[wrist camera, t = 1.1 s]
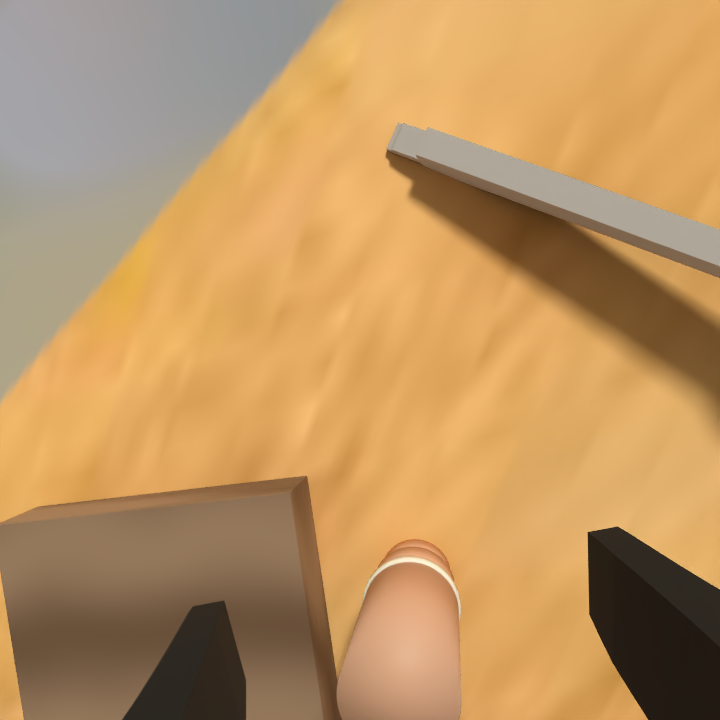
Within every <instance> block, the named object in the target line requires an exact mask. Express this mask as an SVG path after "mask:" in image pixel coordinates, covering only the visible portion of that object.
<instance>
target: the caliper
mask: <svg viewBox="0 0 720 720" xmlns="http://www.w3.org/2000/svg"><path fill="white" fill-rule="evenodd" d="M387 150H388V151H390V152H392V153H395V154H397V155H400V156H403V157H405V158H408V159H411V160H414V161H416V162H419V163H421V164H422V165H423V166H425V167H427V168H430V169H432V170H435V171H437V172H439V173H442V174H444V175H446V176H449V177H451V178H454V179H456V180H458V181H461V182H463V183H466V184H469V185H471V186H474V187H477V188H479V189H482V190H485V191H488V192H490V193H493V194H496V195H498V196H501V197H504V198H506V199H509V200H512V201H514V202H517V203H520V204H523V205H525V206H528V207H531V208H533V209H536V210H539V211H541V212H544V213H547V214H550V215H552V216H555V217H558V218H560V219H563V220H566V221H568V222H571V223H574V224H576V225H579V226H582V227H585V228H587V229H590V230H593V231H595V232H598V233H601V234H603V235H606V236H609V237H611V238H614V239H617V240H619V241H622V242H625V243H627V244H630V245H633V246H636V247H638V248H641V249H644V250H646V251H649V252H652V253H654V254H657V255H660V256H662V257H665V258H668V259H670V260H673V261H676V262H678V263H681V264H684V265H686V266H689V267H692V268H694V269H697V270H700V271H702V272H705V273H708V274H710V275H713V276H716V277H718V278H720V230H719V229H716V228H713V227H711V226H708V225H705V224H702V223H699V222H696V221H694V220H691V219H688V218H685V217H682V216H679V215H676V214H674V213H671V212H668V211H665V210H662V209H659V208H657V207H654V206H651V205H648V204H645V203H642V202H640V201H637V200H634V199H631V198H628V197H625V196H622V195H620V194H617V193H614V192H611V191H608V190H605V189H603V188H600V187H597V186H594V185H591V184H588V183H586V182H583V181H580V180H577V179H574V178H571V177H569V176H566V175H563V174H560V173H557V172H554V171H551V170H549V169H546V168H543V167H540V166H537V165H534V164H531V163H529V162H526V161H523V160H520V159H517V158H514V157H511V156H509V155H506V154H503V153H500V152H497V151H494V150H491V149H489V148H486V147H483V146H480V145H477V144H474V143H471V142H469V141H466V140H463V139H460V138H457V137H454V136H451V135H449V134H446V133H443V132H440V131H437V130H434V129H431V128H429V127H428V128H427V131H424V130H422V129H419V128H416V127H413V126H410V125H407V124H405V123H403V124H401V123H398V125H397V127H396V129H395V131H394V134H393V136H392V138H391V141H390V143H389V145H388V147H387Z"/></svg>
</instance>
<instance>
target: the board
mask: <svg viewBox="0 0 720 720" xmlns="http://www.w3.org/2000/svg"><path fill="white" fill-rule="evenodd" d="M0 572H1V578H2V584H3V590H4V597H5V603H6V609H7V616H8V622H9V628H10V634H11V641H12V647H13V653H14V659H15V666H16V672H17V678H18V684H19V691H20V697H21V703H22V710H23V716H24V720H122V719H123V717H124V716H125V715H126V713H127V712H128V710H129V709H130V707H131V706H132V704H133V703H134V701H135V700H136V698H137V697H138V695H139V693H140V692H141V690H142V689H143V687H144V685H145V684H146V682H147V681H148V679H149V678H150V676H151V674H152V673H153V671H154V670H155V668H156V666H157V665H158V663H159V661H160V660H161V658H162V656H163V655H164V653H165V651H166V650H167V648H168V646H169V645H170V643H171V641H172V640H173V638H174V636H175V634H176V633H177V631H178V629H179V627H180V626H181V624H182V622H183V620H184V619H185V617H186V615H187V613H188V612H189V611H190V609H191V608H192V607H193V606H197V605H202V604H208V603H213V602H218V601H225V605H226V609H227V612H228V616H229V620H230V623H231V627H232V631H233V634H234V638H235V642H236V645H237V649H238V652H239V656H240V660H241V663H242V667H243V671H244V674H245V678H246V720H342V718H341V715H340V712H339V709H338V704H337V695H336V694H337V684H338V683H337V677H336V670H335V663H334V656H333V649H332V643H331V636H330V629H329V622H328V615H327V609H326V602H325V595H324V588H323V582H322V575H321V568H320V561H319V554H318V548H317V541H316V534H315V527H314V520H313V514H312V507H311V500H310V493H309V486H308V480H307V476H302V477H293V478H284V479H276V480H267V481H258V482H250V483H241V484H232V485H224V486H215V487H206V488H198V489H189V490H180V491H171V492H163V493H154V494H145V495H137V496H128V497H119V498H111V499H102V500H93V501H84V502H76V503H67V504H58V505H50V506H41V507H37V508H34V509H32V510H29V511H27V512H25V513H22V514H20V515H18V516H15V517H13V518H11V519H8V520H6V521H4V522H1V523H0Z"/></svg>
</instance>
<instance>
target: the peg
mask: <svg viewBox="0 0 720 720" xmlns="http://www.w3.org/2000/svg"><path fill="white" fill-rule="evenodd" d="M460 612H461V608H460V597H459V592H458V589H457V587H456V585H455V582H454V577H453V575H452V572H451V570H450V566H449V563H448V561H447V559H446V557H445V556H444V554H443V553H442V552H441V551H440V550H439V549H438V548H437V547H436V546H434V545H433V544H431V543H429V542H426V541H423V540H416V539H415V540H406V541H403V542H401V543H398V544H397V545H395V546H394V547H393V548H392V549H391V550H390V551H389V552H388V553H387V555H386V557H385V558H384V559H383V560H382V561H381V563H380V564H379V566H378V568H377V569H376V570H375V572H374V573H373V574H372V576H371V577H370V579H369V581H368V583H367V586H366V589H365V592H364V596H363V604H362V607H361V610H360V613H359V617H358V620H357V623H356V626H355V629H354V632H353V635H352V638H351V641H350V645H349V648H348V651H347V654H346V657H345V660H344V663H343V666H342V669H341V672H340V676H339V679H338V684H337V694H336V695H337V704H338V709H339V712H340V715H341V718H342V720H459V718H460V713H461V674H460V639H459V621H460Z"/></svg>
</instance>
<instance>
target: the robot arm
mask: <svg viewBox="0 0 720 720" xmlns="http://www.w3.org/2000/svg"><path fill="white" fill-rule="evenodd" d="M588 569H589V614H590V617H591V619H592V621H593V623H594V625H595V627H596V629H597V632H598V634H599V636H600V638H601V640H602V642H603V644H604V646H605V648H606V650H607V652H608V654H609V656H610V658H611V660H612V662H613V664H614V666H615V667H616V669H617V671H618V672H619V674H620V676H621V677H622V679H623V680H624V682H625V684H626V685H627V687H628V688H629V690H630V692H631V693H632V695H633V696H634V698H635V699H636V701H637V703H638V704H639V706H640V707H641V709H642V710H643V712H644V714H645V715H646V717H647V718H648V720H720V589H718V588H716V587H714V586H713V585H711V584H709V583H708V582H706V581H704V580H703V579H701V578H699V577H698V576H696V575H694V574H693V573H691V572H689V571H688V570H686V569H685V568H683V567H681V566H680V565H678V564H677V563H675V562H673V561H672V560H670V559H669V558H667V557H665V556H664V555H662V554H661V553H659V552H658V551H656V550H654V549H653V548H651V547H650V546H648V545H647V544H645V543H643V542H642V541H640V540H639V539H637V538H636V537H634V536H632V535H631V534H629V533H628V532H626V531H624V530H623V529H621V528H619V527H613V528H608V529H602V530H597V531H592V532H588ZM122 720H246V678H245V674H244V671H243V667H242V663H241V660H240V656H239V652H238V649H237V645H236V642H235V638H234V634H233V631H232V627H231V623H230V620H229V616H228V612H227V609H226V605H225V601H218V602H213V603H208V604H202V605H197V606H193V607H192V608H191V609H190V611H189V612H188V613H187V615H186V617H185V619H184V620H183V622H182V624H181V626H180V627H179V629H178V631H177V633H176V634H175V636H174V638H173V640H172V641H171V643H170V645H169V646H168V648H167V650H166V651H165V653H164V655H163V656H162V658H161V660H160V661H159V663H158V665H157V666H156V668H155V670H154V671H153V673H152V674H151V676H150V678H149V679H148V681H147V682H146V684H145V685H144V687H143V689H142V690H141V692H140V693H139V695H138V697H137V698H136V700H135V701H134V703H133V704H132V706H131V707H130V709H129V710H128V712H127V713H126V715H125V716H124V717H123V719H122Z"/></svg>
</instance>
